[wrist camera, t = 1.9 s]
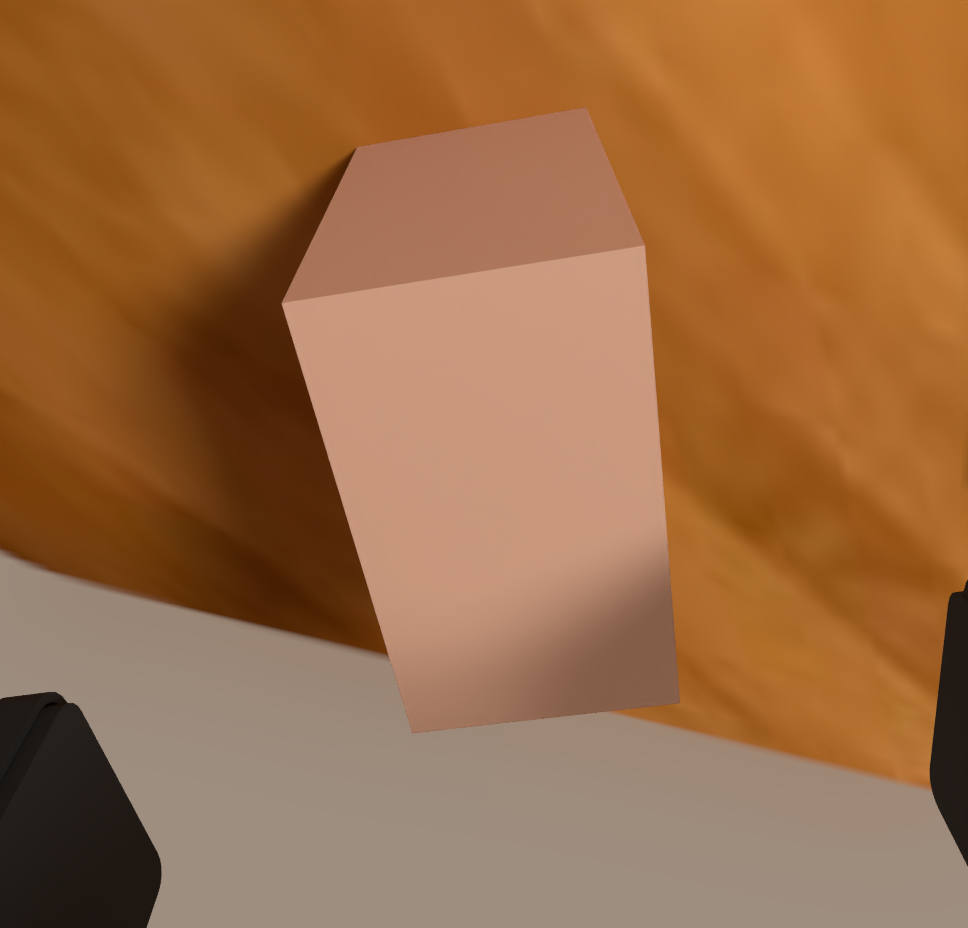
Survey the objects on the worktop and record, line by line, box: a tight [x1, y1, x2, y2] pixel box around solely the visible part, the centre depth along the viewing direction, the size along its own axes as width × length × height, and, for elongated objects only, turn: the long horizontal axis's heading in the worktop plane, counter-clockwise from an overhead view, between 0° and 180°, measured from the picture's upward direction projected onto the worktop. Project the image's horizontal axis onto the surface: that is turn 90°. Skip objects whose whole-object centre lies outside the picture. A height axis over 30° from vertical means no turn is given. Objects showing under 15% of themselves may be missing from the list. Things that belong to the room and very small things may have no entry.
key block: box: [282, 108, 680, 733], centre depth 15 cm, size 7×4×7 cm, turn 10°
